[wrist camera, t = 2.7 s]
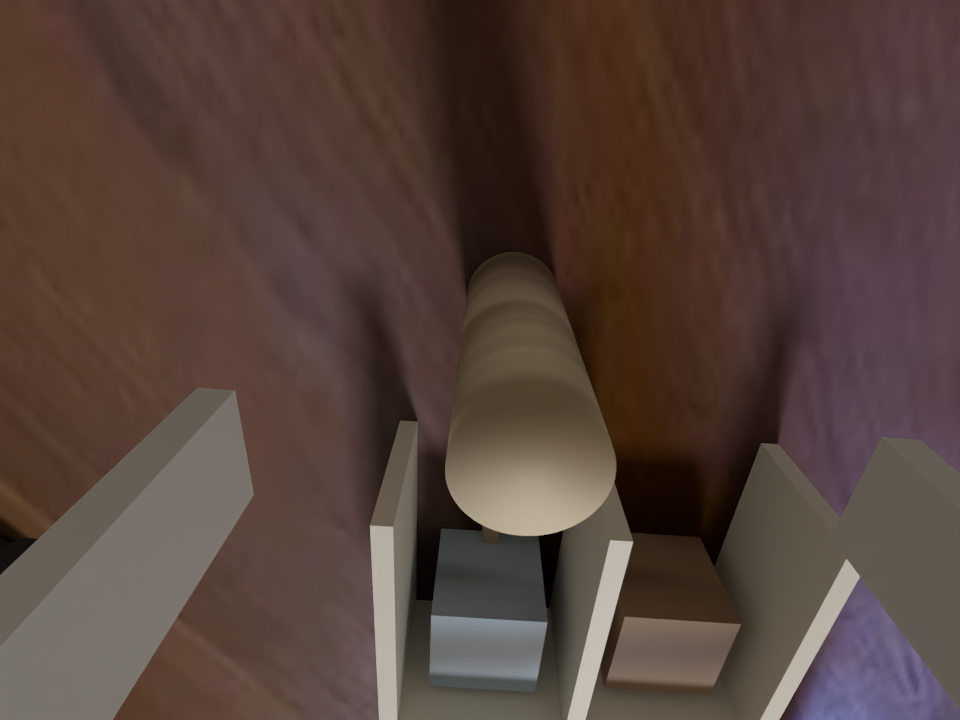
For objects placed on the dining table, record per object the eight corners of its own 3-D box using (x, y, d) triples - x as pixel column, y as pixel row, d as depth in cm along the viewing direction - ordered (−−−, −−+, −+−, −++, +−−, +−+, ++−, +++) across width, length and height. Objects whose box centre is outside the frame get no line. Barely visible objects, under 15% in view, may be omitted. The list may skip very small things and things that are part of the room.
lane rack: (705, 629, 29) (757, 758, 24) (402, 611, 29) (380, 736, 24) (778, 444, 24) (871, 556, 18) (400, 420, 23) (369, 525, 18)
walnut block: (676, 602, 29) (710, 694, 24) (587, 596, 29) (604, 687, 24) (699, 536, 26) (741, 624, 22) (602, 529, 26) (624, 616, 22)
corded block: (528, 600, 29) (546, 860, 19) (438, 594, 29) (411, 852, 19) (580, 256, 20) (667, 408, 10) (451, 247, 20) (412, 391, 10)
